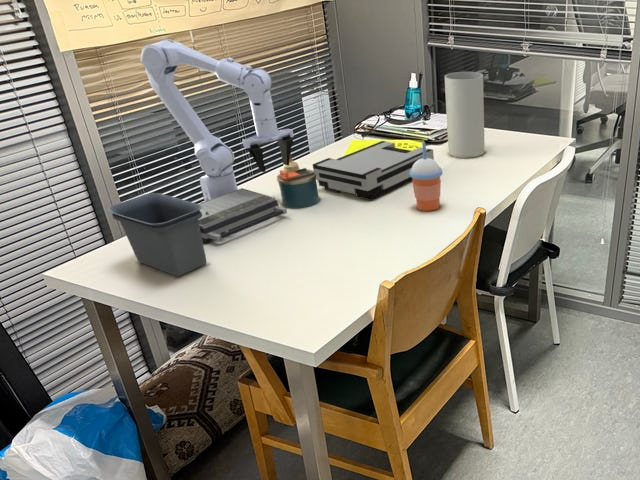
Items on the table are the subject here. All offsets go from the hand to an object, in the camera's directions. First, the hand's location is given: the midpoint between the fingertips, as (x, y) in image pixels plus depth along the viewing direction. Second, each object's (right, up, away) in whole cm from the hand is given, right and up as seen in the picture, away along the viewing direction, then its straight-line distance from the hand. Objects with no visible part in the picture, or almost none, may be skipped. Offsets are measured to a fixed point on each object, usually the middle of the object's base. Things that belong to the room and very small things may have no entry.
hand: (274, 167), depth 185 cm
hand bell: (-1, +2, +21) cm, 22 cm away
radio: (-10, -17, -6) cm, 21 cm away
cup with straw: (+44, -11, 0) cm, 45 cm away
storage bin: (-16, -31, -25) cm, 43 cm away
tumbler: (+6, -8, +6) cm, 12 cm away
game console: (+26, +1, +19) cm, 33 cm away
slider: (+4, -2, +1) cm, 5 cm away
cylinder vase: (+54, +17, +41) cm, 69 cm away
